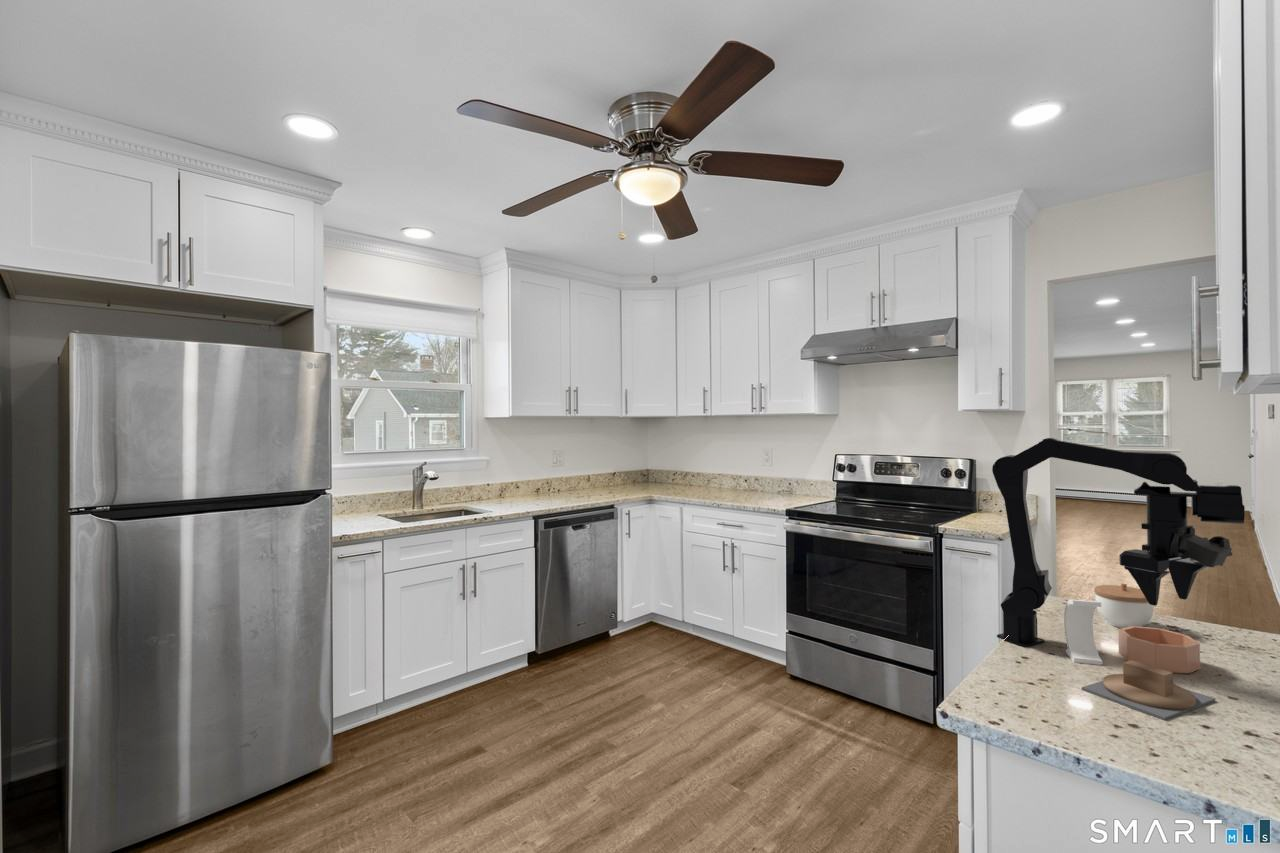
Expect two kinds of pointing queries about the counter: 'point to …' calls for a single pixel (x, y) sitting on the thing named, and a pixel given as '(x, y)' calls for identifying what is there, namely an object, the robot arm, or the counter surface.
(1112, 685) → the lid
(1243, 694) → the counter surface
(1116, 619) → the lidded jar
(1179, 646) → the bowl
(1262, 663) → the counter surface
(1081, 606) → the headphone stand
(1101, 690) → the mat
